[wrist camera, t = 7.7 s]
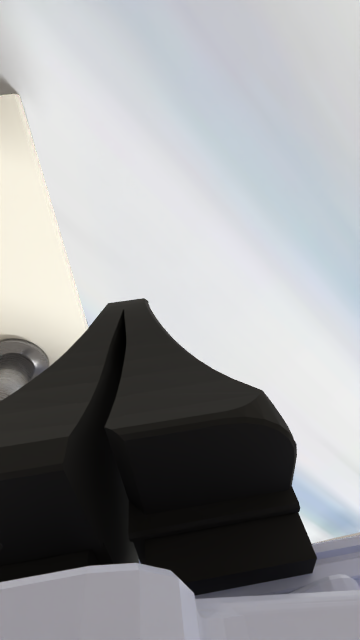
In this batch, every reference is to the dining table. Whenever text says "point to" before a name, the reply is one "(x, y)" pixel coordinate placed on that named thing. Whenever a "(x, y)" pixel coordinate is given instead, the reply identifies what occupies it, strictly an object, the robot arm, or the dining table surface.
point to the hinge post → (19, 364)
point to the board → (32, 247)
